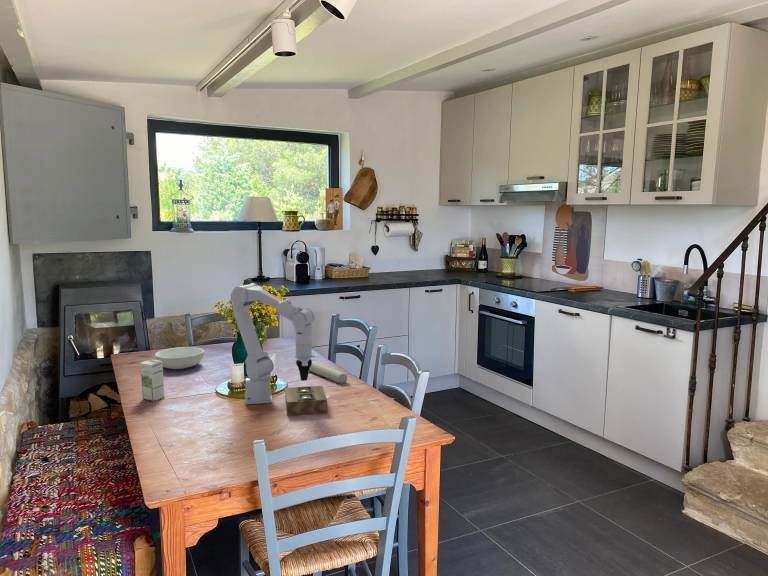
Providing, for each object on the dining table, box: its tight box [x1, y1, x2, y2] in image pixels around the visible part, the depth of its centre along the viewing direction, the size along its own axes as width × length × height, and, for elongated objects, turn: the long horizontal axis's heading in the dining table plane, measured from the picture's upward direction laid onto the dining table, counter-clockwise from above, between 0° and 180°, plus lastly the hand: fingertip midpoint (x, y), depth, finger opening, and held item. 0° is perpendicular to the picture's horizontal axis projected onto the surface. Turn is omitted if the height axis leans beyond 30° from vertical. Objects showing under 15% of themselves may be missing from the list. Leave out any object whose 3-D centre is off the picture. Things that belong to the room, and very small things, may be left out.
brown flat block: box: [284, 385, 328, 417], centre depth 211 cm, size 14×16×5 cm
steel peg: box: [301, 395, 312, 399], centre depth 207 cm, size 4×4×5 cm
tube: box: [309, 359, 348, 385], centre depth 247 cm, size 5×5×25 cm
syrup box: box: [139, 358, 165, 402], centre depth 219 cm, size 6×6×14 cm
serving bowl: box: [154, 346, 205, 370], centre depth 262 cm, size 21×21×7 cm
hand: (304, 379), depth 210 cm, fingers closed
